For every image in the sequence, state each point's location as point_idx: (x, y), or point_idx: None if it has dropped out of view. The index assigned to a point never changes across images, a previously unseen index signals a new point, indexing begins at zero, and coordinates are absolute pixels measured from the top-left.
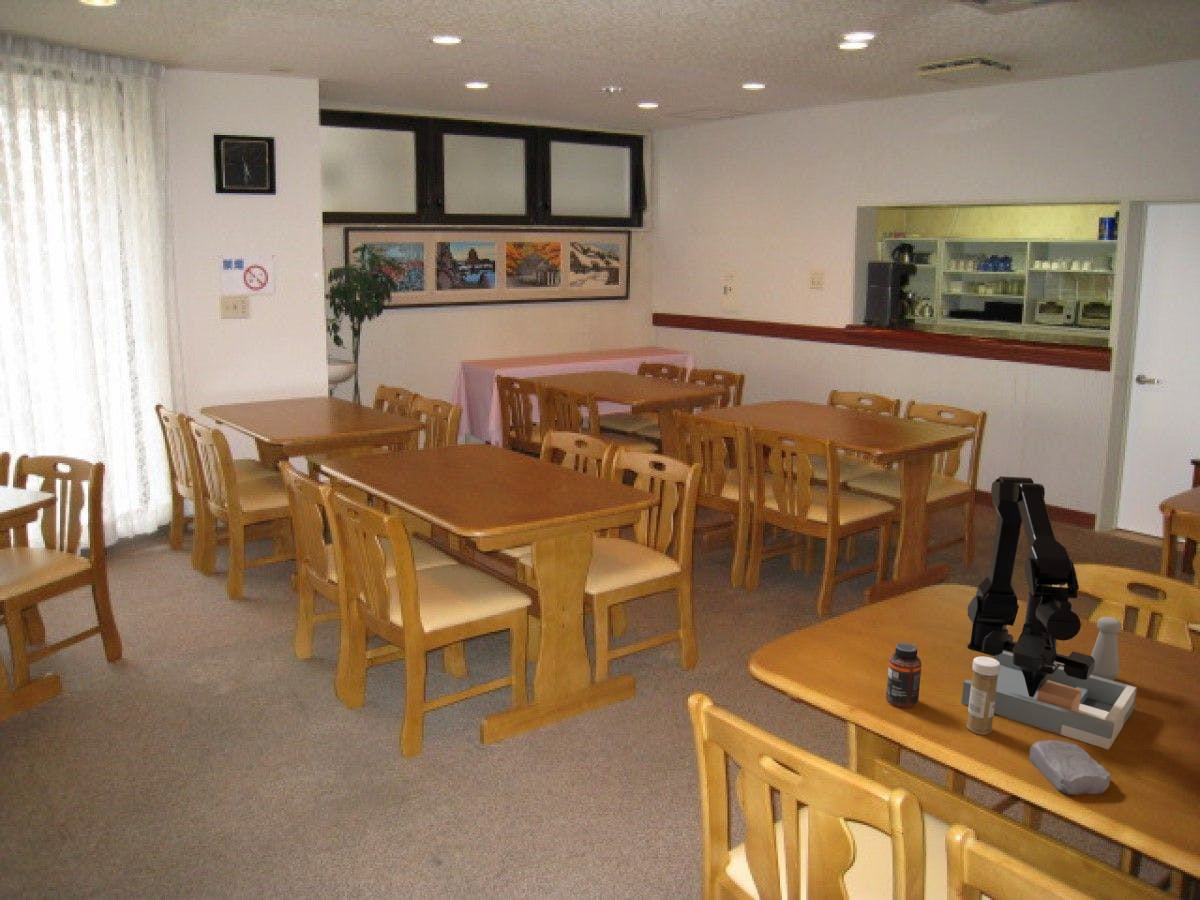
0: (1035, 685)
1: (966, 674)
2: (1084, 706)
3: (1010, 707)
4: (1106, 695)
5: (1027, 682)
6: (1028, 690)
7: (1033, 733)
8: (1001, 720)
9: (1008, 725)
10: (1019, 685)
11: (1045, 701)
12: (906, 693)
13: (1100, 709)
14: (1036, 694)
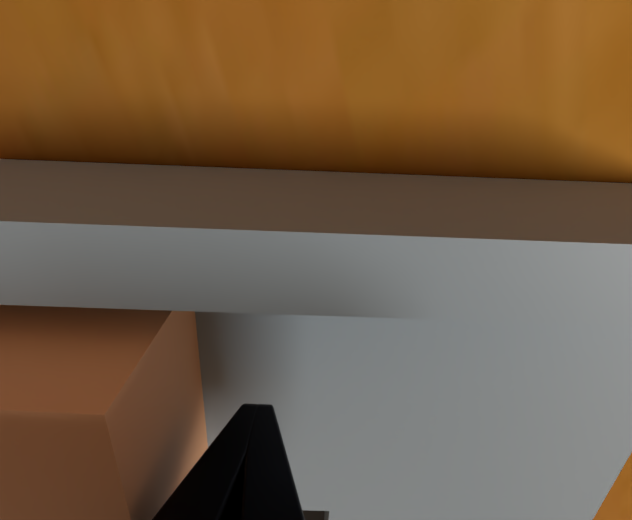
0: (192, 504)
1: (626, 508)
2: None
3: (361, 193)
4: None
5: (281, 516)
6: (274, 441)
7: (137, 40)
8: (392, 104)
9: (329, 50)
10: (380, 515)
11: (68, 339)
12: None
13: None
14: None
